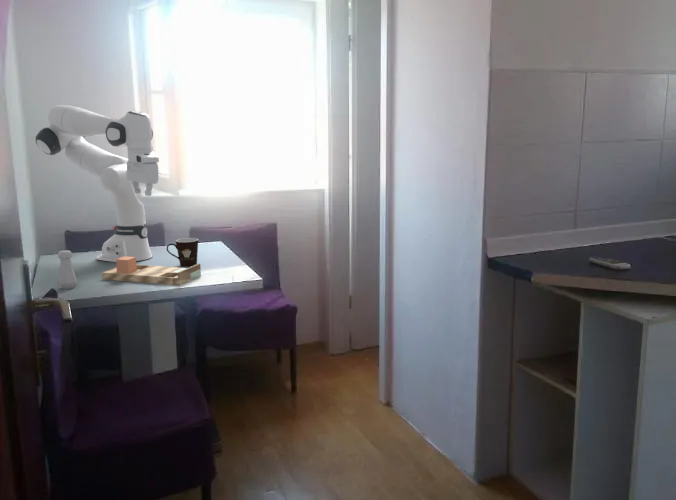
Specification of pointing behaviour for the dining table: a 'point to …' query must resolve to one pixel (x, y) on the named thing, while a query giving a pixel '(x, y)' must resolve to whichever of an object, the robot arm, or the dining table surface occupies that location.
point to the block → (126, 265)
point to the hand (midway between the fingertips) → (142, 194)
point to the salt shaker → (66, 270)
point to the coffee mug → (186, 251)
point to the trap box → (156, 274)
